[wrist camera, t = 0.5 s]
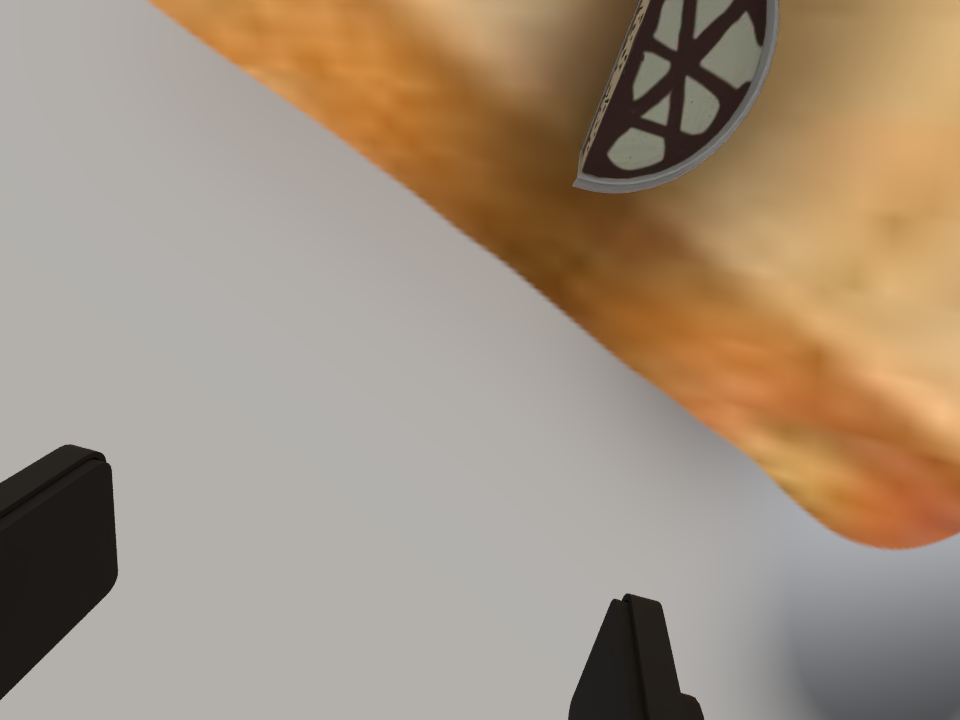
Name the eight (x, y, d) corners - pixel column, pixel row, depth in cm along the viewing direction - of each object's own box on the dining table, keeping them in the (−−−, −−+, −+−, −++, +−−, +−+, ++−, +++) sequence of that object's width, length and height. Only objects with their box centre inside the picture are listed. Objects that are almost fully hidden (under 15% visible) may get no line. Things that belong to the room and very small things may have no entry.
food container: (662, 212, 34) (700, 237, 25) (569, 177, 34) (572, 189, 25) (766, -12, 30) (860, -82, 20) (659, -52, 30) (703, -141, 20)
